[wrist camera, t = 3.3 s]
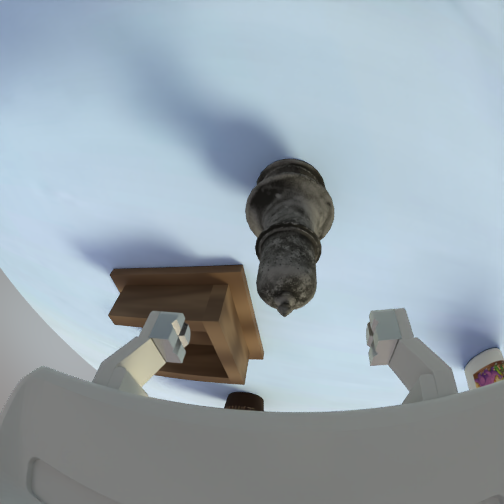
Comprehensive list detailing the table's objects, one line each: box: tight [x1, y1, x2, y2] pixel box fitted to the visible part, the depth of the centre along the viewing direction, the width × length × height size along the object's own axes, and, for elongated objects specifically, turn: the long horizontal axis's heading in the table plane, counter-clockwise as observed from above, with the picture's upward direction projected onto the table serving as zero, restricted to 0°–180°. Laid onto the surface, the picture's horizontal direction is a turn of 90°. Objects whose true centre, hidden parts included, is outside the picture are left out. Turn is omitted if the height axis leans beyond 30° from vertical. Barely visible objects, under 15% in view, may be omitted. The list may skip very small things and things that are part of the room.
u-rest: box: [108, 265, 264, 385], centre depth 30 cm, size 15×15×6 cm
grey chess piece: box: [245, 159, 334, 317], centre depth 17 cm, size 6×6×12 cm
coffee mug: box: [224, 392, 264, 411], centre depth 42 cm, size 12×9×10 cm
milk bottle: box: [465, 348, 504, 390], centre depth 26 cm, size 8×8×20 cm
